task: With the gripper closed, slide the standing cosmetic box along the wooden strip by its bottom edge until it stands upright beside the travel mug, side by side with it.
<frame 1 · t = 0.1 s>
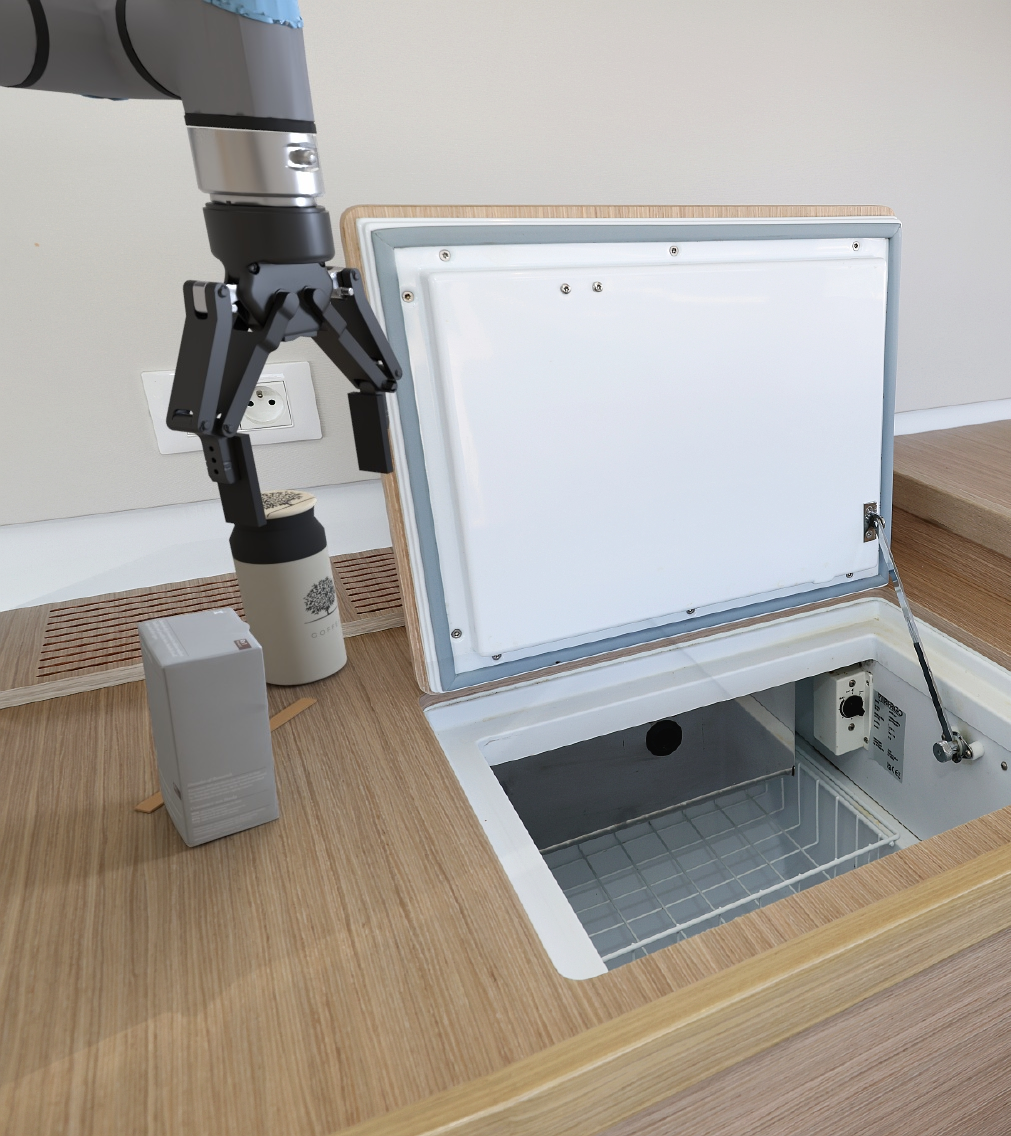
hand: (316, 495, 73), 25 cm above the worktop, tool pointing down, fingers open, 13 cm apart
travel mug: (304, 670, 97), on the worktop
wooden strip: (234, 750, 83), on the worktop
cosmetic box: (227, 811, 76), on the worktop, touching wooden strip
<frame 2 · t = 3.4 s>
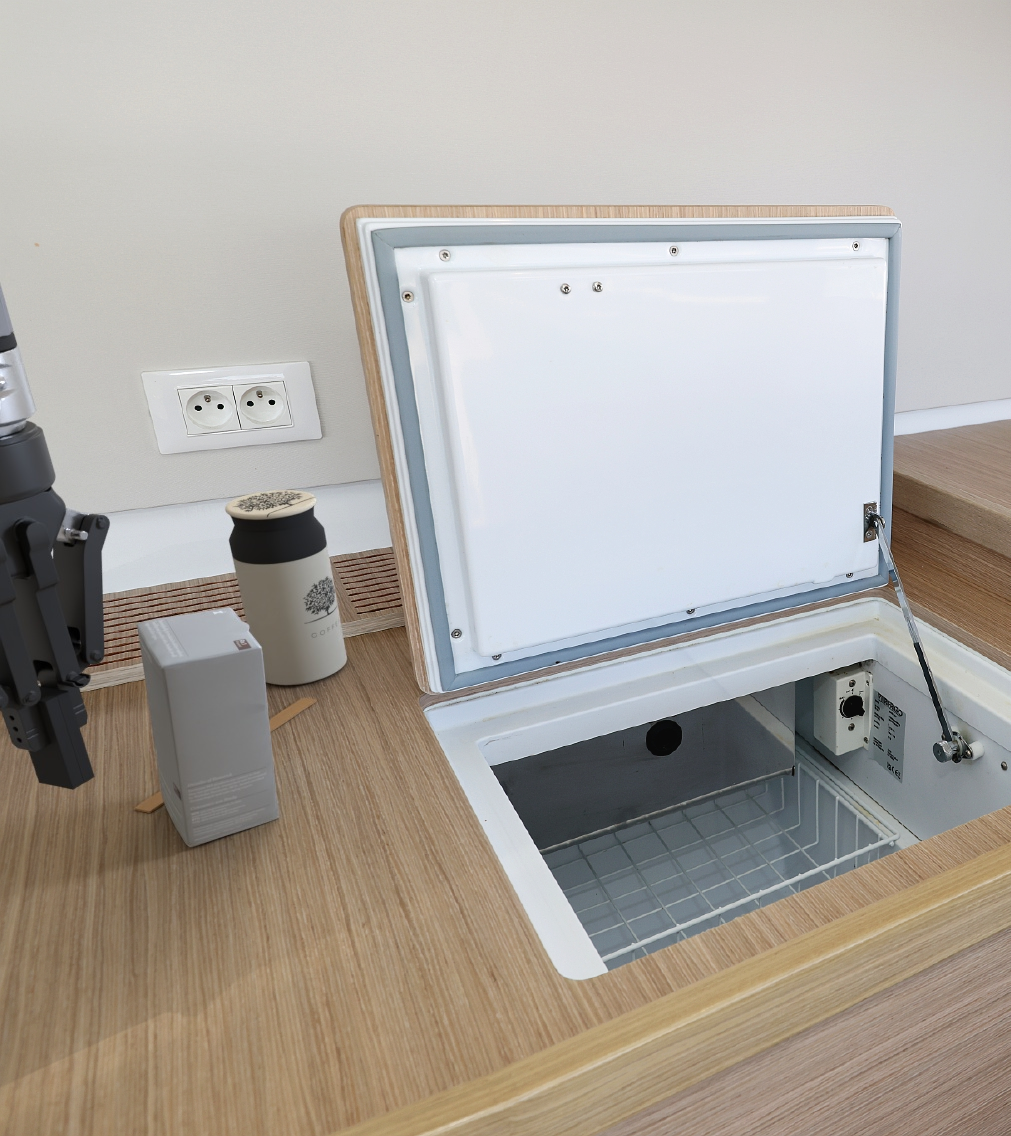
hand: (67, 779, 62), 10 cm above the worktop, tool pointing down, fingers closed
nothing on the worktop moved.
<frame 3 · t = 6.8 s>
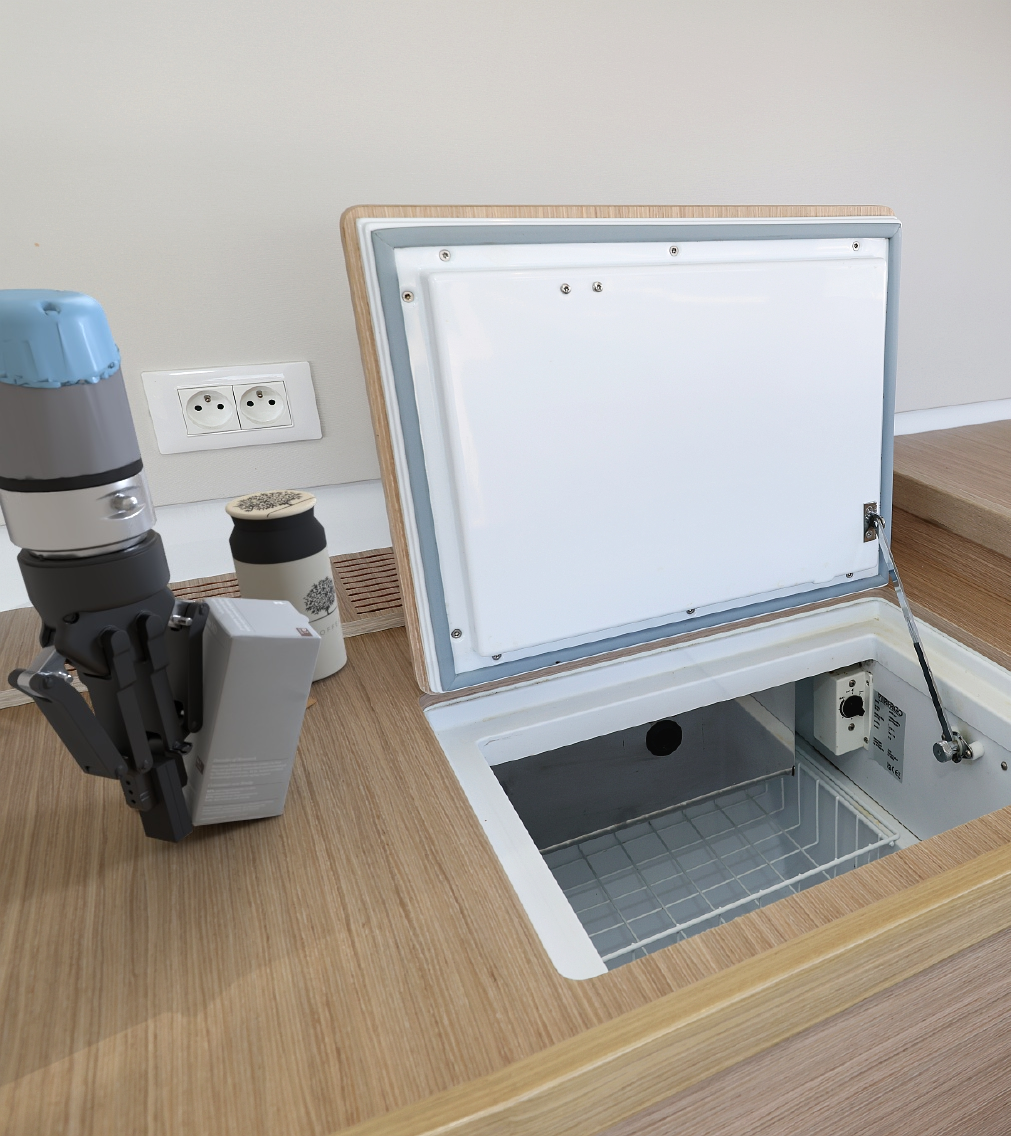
hand: (169, 833, 70), 1 cm above the worktop, tool pointing down, fingers closed
cosmetic box: (229, 801, 76), point 1 cm above the worktop, touching gripper
everything else where it was.
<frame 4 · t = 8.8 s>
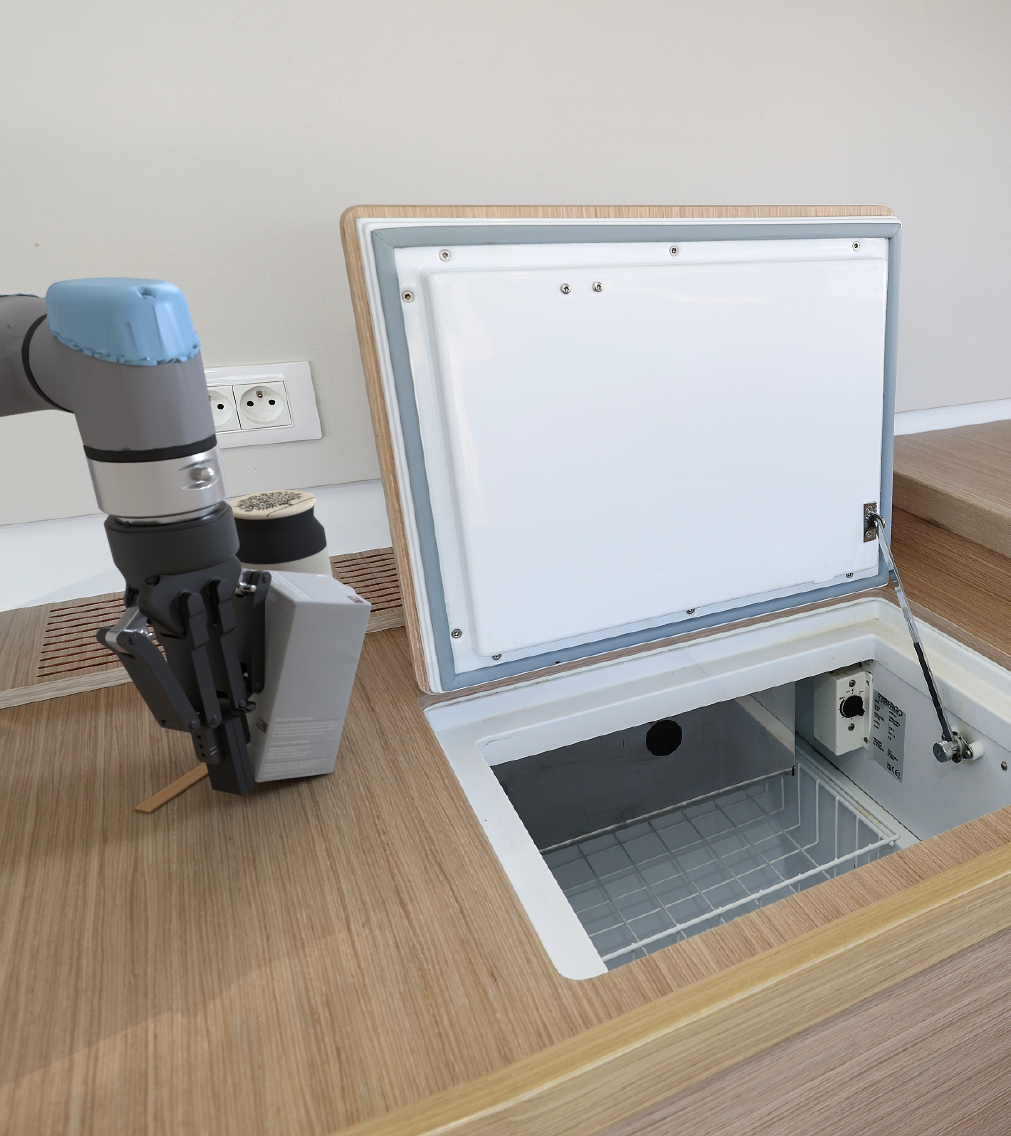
hand: (234, 787, 76), 2 cm above the worktop, tool pointing down, fingers closed
cosmetic box: (280, 762, 81), point 1 cm above the worktop, touching gripper, hand
everything else where it was.
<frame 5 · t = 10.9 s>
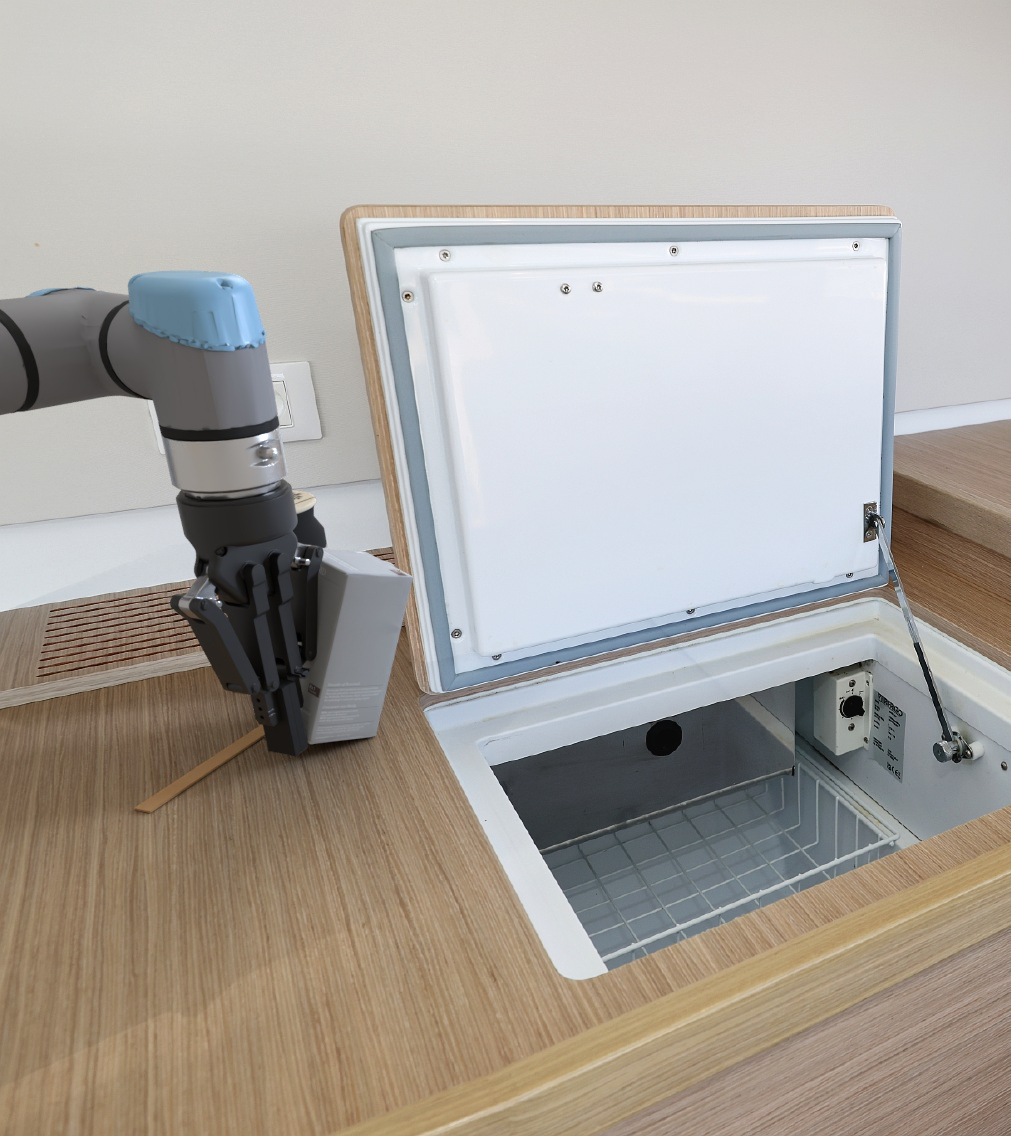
hand: (288, 749, 81), 2 cm above the worktop, tool pointing down, fingers closed
cosmetic box: (324, 728, 86), point 1 cm above the worktop, touching gripper, hand
everything else where it was.
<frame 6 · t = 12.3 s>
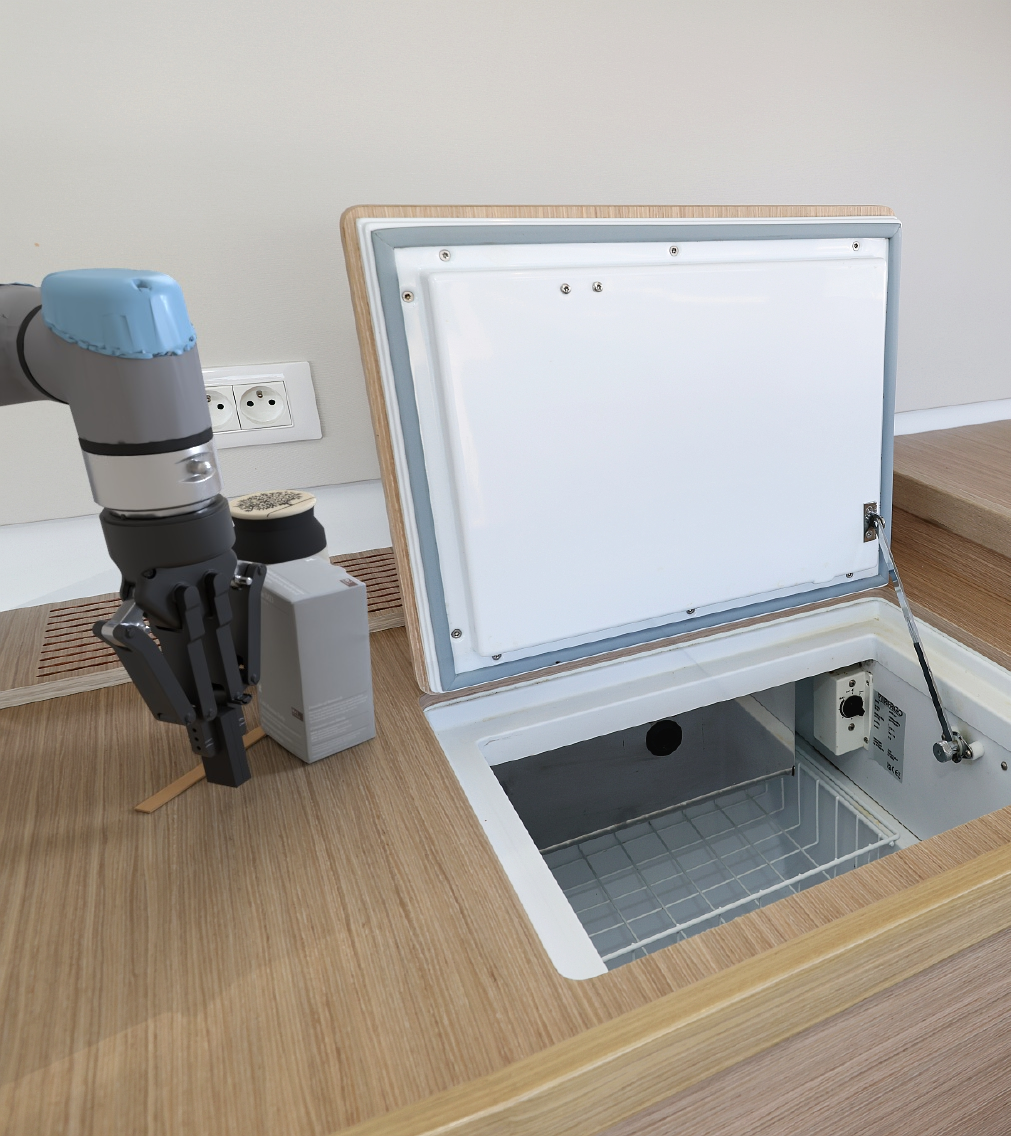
hand: (229, 779, 76), 2 cm above the worktop, tool pointing down, fingers closed
cosmetic box: (325, 735, 86), on the worktop, touching wooden strip
everything else where it was.
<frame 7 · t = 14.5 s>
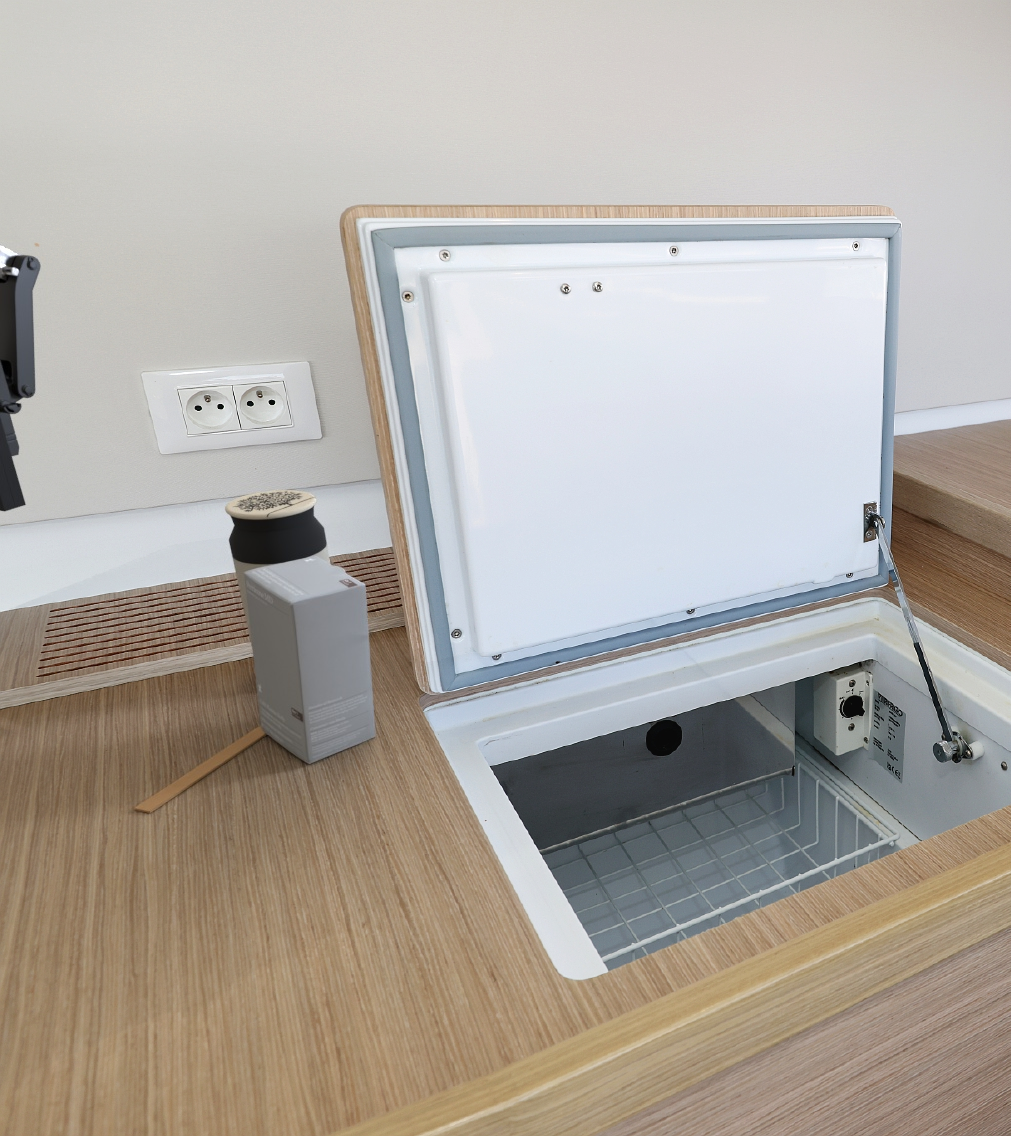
nothing on the worktop moved.
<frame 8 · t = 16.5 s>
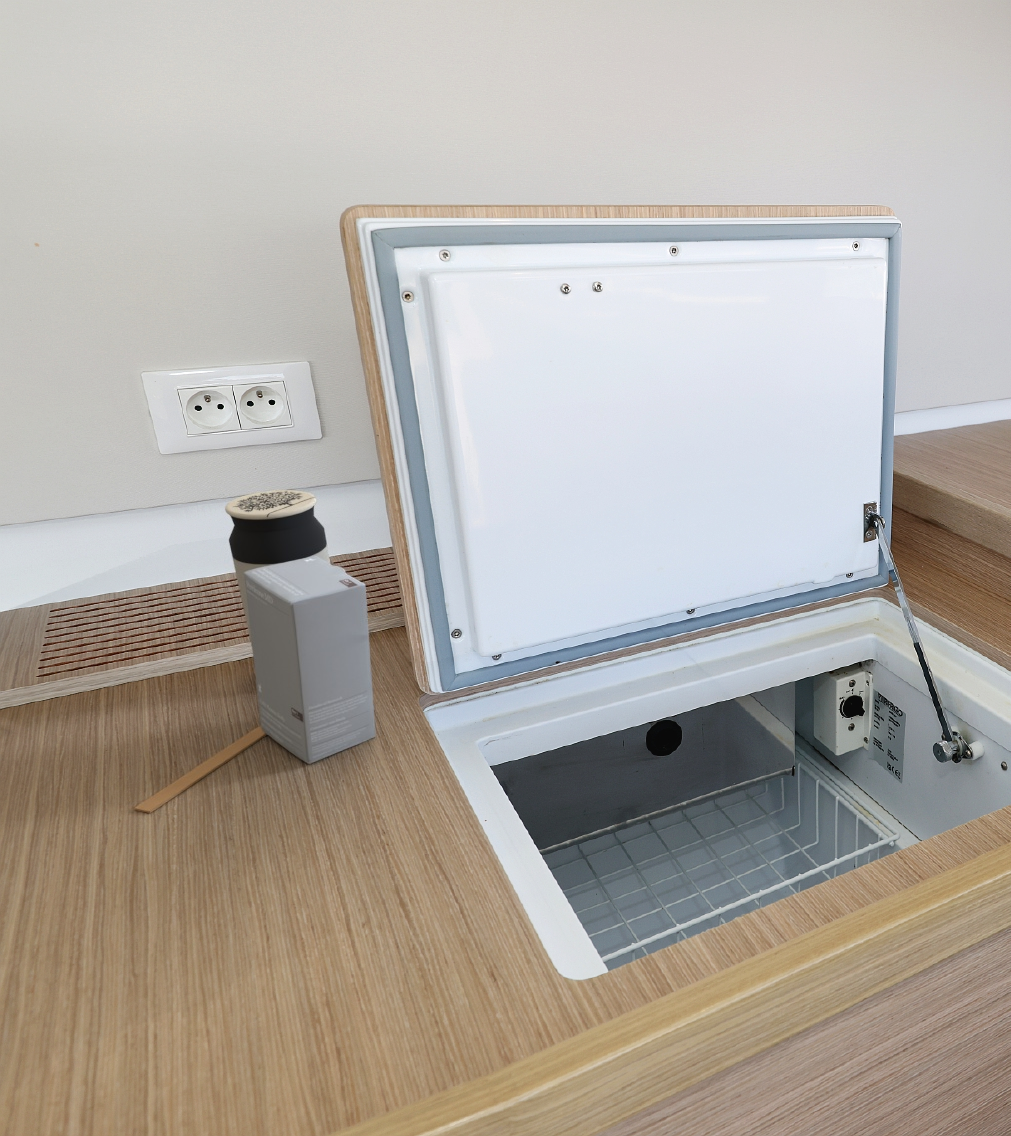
nothing on the worktop moved.
at the end: cosmetic box inside the target area (0.6 cm from its centre), on the worktop; cosmetic box tilted 1°; cosmetic box 14.3 cm from the travel mug (horizontally) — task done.
